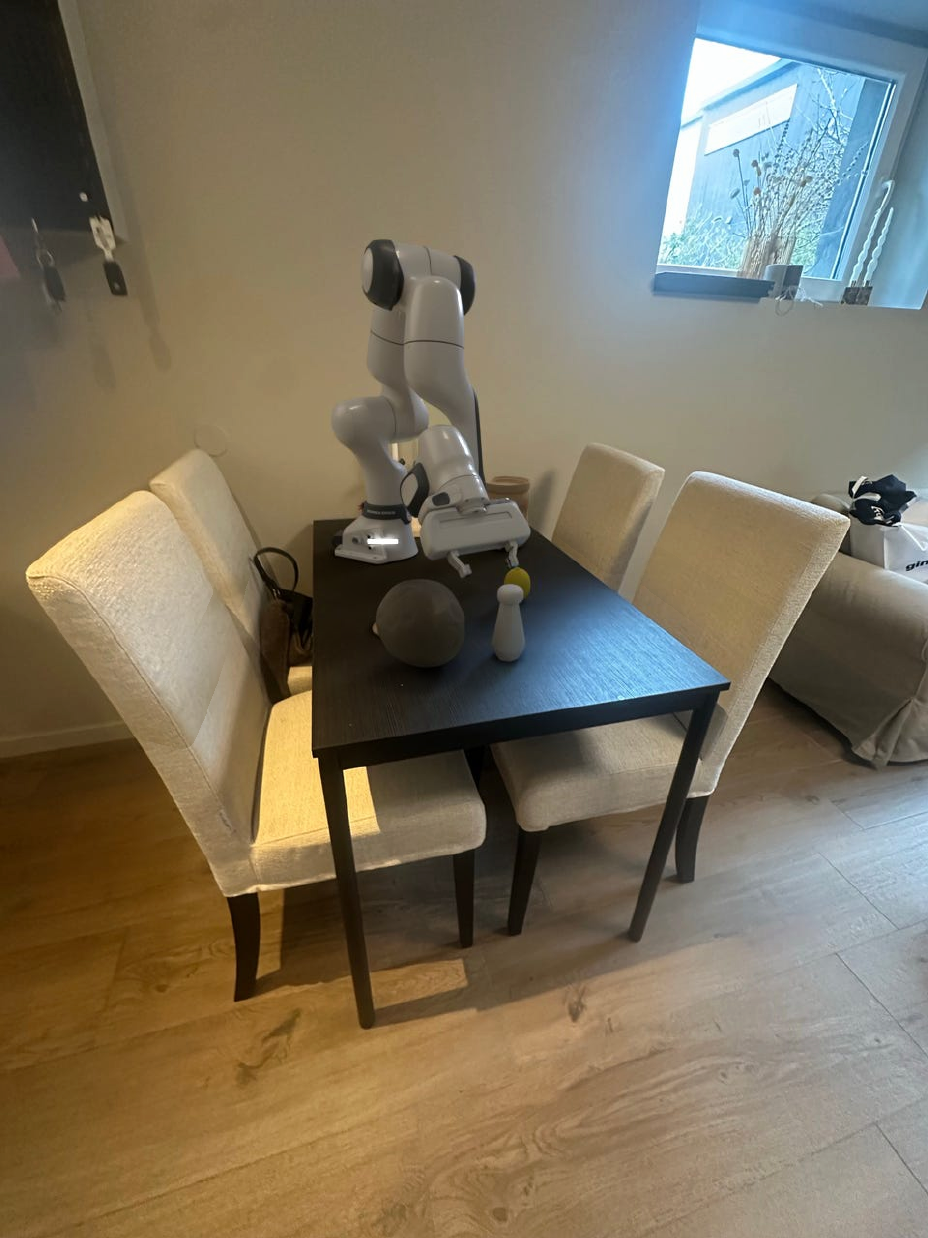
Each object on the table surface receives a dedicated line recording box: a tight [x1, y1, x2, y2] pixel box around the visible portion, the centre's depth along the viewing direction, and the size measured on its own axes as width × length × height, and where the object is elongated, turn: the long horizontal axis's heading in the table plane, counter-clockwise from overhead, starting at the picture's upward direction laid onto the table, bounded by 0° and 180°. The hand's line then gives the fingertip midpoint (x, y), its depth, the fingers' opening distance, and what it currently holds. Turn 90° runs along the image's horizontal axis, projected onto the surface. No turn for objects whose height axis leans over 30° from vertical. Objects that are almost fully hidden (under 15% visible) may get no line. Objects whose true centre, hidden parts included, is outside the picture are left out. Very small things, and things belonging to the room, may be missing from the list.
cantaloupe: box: [375, 578, 466, 669], centre depth 81 cm, size 14×14×15 cm
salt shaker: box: [491, 584, 526, 663], centre depth 84 cm, size 6×6×13 cm
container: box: [486, 475, 531, 551], centre depth 137 cm, size 13×13×18 cm
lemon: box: [503, 566, 531, 601], centre depth 105 cm, size 6×6×8 cm
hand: (490, 571), depth 86 cm, fingers open, 8 cm apart
